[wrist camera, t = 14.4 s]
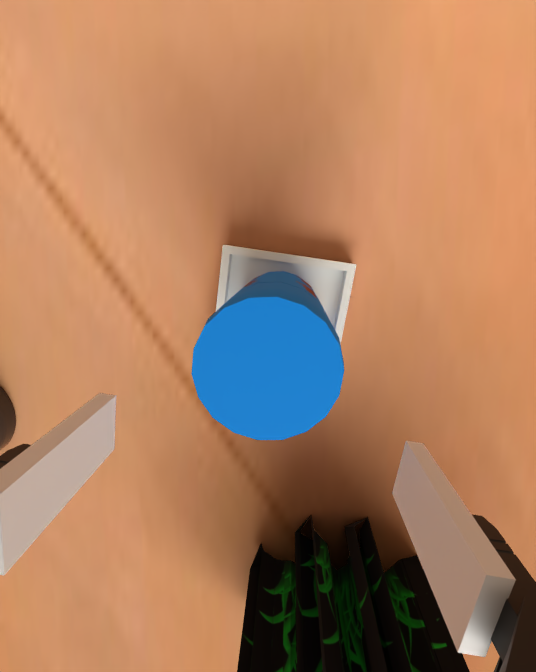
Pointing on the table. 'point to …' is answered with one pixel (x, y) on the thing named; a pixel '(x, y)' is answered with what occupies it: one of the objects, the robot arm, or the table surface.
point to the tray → (320, 274)
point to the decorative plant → (343, 613)
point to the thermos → (269, 359)
